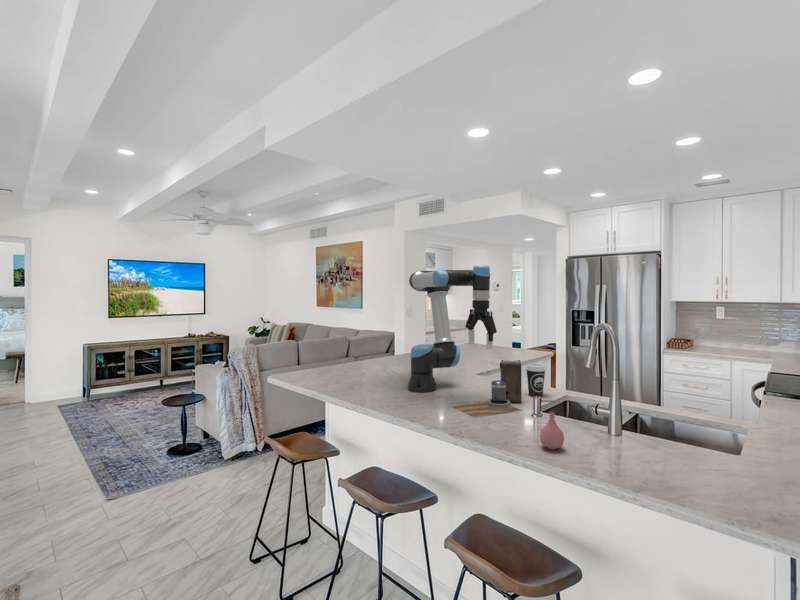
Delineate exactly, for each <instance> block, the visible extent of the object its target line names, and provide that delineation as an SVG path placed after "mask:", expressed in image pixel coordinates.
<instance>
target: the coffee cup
mask: <svg viewBox="0 0 800 600" xmlns="http://www.w3.org/2000/svg"><path fill="white" fill-rule="evenodd" d="M525 370H526V379H527V387H528V388H527V390H528V396H530V397H532V398H535V397H534V396H541V397H540V398H543V396H544V386H545V385H544V383H545V374H546V371H547V369H546V367H545V365H544V364H540V363H528V364H527V365H526V367H525Z"/></svg>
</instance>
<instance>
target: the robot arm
mask: <svg viewBox="0 0 800 600" xmlns="http://www.w3.org/2000/svg"><path fill="white" fill-rule="evenodd" d="M490 270H491V269H490V266H488V265H474V266H473V267H472V269H436V270H417V271H415V272H413V273H411V275H410V276H409V279H408V284H409V286H410V287H411V288H412V289H413V290H415V291H417V292H425V293H427V294H426V295H427V297H428V298H430V304H431V305H430V306H431V313H432V315H431V316H432V324H433V330H434V338H435V340H434V342H433V344H431V343H425V344H424V343H421V344H417V345H414V346H412V347H411V350H410V355H409V356H410V376H409V380H408V384H407V390H408V391H410V392H414V393H415V392H416V393H430V392H434V391H436V390H437V383H436V379H435V377H434V369H444V368H452V367H456V366H457V365H458V364H459V362H460V358H461V350H460V347H459V346H458V345H456V344H455V341H454V340H453V339H452V336H451V327H450V319H449V318H450V317H449V312H448V304H447V295H448V294H449V291H450V290H451V287H472V299H473V300H472V309H471V308H470V309H469V313H468V314H469V315H468V317H467V321H466V324H465V326H464V327H465V328H466V329H467V331H468V344H469V345H474V344H475V327H476V325H477V323H478V322H479V321H481V322H482V323H483V325H484V328H485V329H486V332H487V333H486V345H485V346H486V347H485V348H486V349H487V350H490V349H491V350H492V349H493V341H494V334H496V333H498V331H497V328H496V323H495V320H494V317H493V311H491V310H490V311H488V309H490V295H491V294H490V286H491V285H490V283H491V273H490V272H491V271H490Z"/></svg>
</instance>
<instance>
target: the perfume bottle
mask: <svg viewBox="0 0 800 600" xmlns="http://www.w3.org/2000/svg"><path fill="white" fill-rule="evenodd" d="M539 433H540V435H539V439H540V443H541V445H542V446H544V447H546V448H548V450H553V451H554V450H556V449H561V448H563V445H564V441H565V435H564V431H563V430H562V429H561V428H560V427H559V426H558V424H557V422H556V420H555V412H553V411H549V420H547V423H546V425H545V426H543V428H541V429H540V432H539Z"/></svg>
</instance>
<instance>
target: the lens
mask: <svg viewBox="0 0 800 600" xmlns="http://www.w3.org/2000/svg"><path fill="white" fill-rule="evenodd" d="M491 399H492V403H495V404H505V403H506V382H505V381H501V379H496V380H495V379H494V380H491Z"/></svg>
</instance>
